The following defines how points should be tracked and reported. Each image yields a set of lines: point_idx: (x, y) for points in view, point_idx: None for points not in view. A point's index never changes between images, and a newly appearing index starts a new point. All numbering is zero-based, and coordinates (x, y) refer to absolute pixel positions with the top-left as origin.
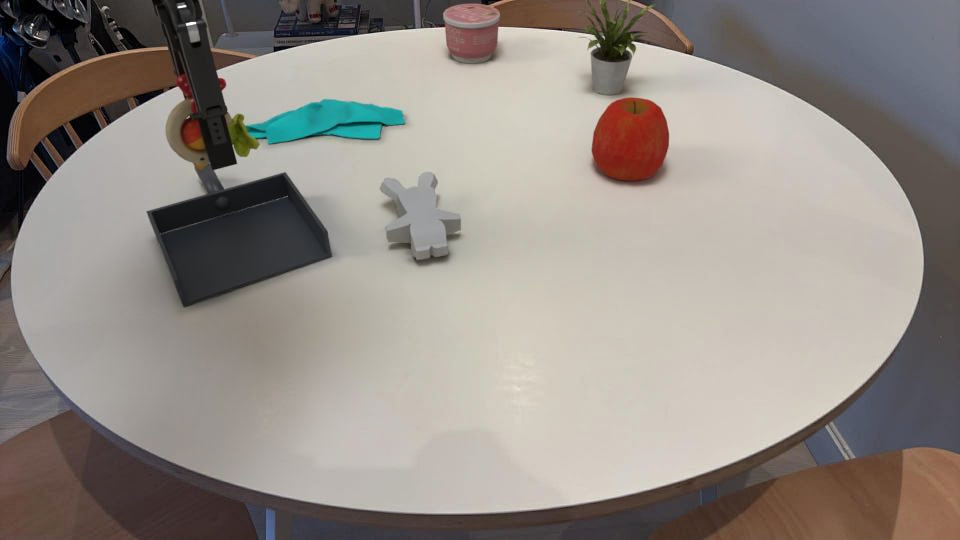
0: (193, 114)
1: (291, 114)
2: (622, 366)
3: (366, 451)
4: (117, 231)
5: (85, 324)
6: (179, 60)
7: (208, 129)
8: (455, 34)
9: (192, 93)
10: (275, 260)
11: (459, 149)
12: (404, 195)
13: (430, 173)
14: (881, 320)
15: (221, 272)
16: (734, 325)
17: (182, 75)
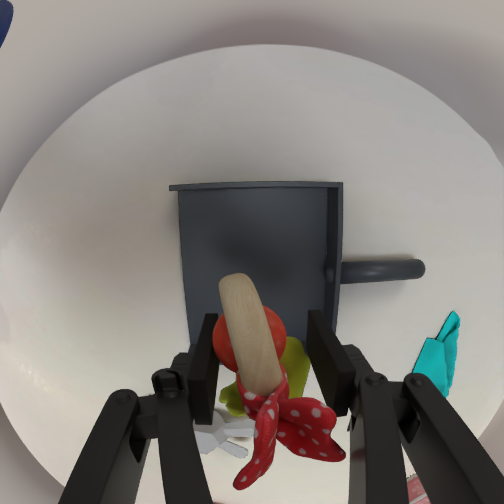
0: (160, 381)
1: (443, 370)
2: (40, 416)
3: (4, 278)
4: (362, 147)
5: (204, 91)
6: (362, 449)
7: (184, 371)
8: (420, 489)
9: (172, 427)
10: (205, 296)
11: (300, 466)
12: (202, 436)
13: (242, 456)
14: (64, 484)
15: (212, 237)
16: (63, 460)
17: (265, 445)
